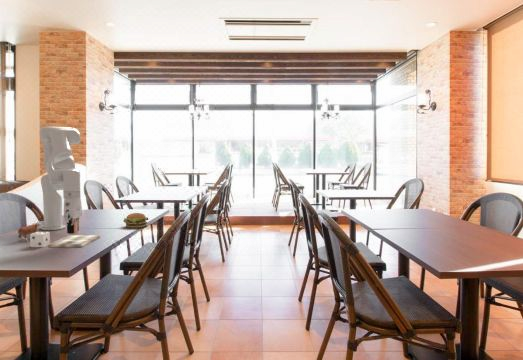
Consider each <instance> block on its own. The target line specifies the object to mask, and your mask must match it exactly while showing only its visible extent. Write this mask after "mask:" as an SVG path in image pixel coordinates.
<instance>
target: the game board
mask: <svg viewBox="0 0 523 360" xmlns="http://www.w3.org/2000/svg"><path fill="white" fill-rule="evenodd" d="M99 238H101V235H97V234H95V235H89V234H88V235H87V234H86V235H83V234H82V235H80V234H79V235H78V234H74V235H70V234H68V235H67V236H65V237H63V238H60V239H58V240H55V241H54V242H50V244H49V245H47V246H48V247H49V248H84V247H86V246H87V245H90V243H92V242H94V241H96V240H98V239H99Z"/></svg>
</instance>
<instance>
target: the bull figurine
mask: <svg viewBox="0 0 523 360" xmlns="http://www.w3.org/2000/svg"><path fill="white" fill-rule="evenodd" d="M42 227H43V226H42V225H41V223H39V222H38V221H37V222H34V223H32V224H29V225H27V226H22V227H20V228H18V230H17V232H18V237H17V238H18V241H19V242H22V240H21V238H22V239H23V240H25V241H27V242H30V240H29V239H28V237H29V236H30V234H32V233H35V232H38V230H39V229H41V228H42Z"/></svg>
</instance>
